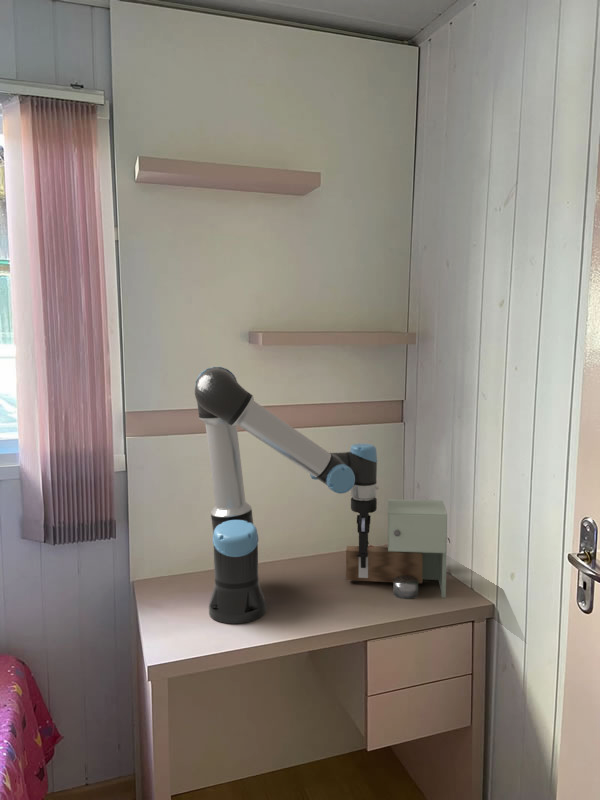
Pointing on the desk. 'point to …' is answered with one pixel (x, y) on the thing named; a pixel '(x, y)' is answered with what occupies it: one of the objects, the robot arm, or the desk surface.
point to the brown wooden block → (384, 564)
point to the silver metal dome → (405, 587)
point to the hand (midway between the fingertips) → (363, 574)
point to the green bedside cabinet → (420, 534)
